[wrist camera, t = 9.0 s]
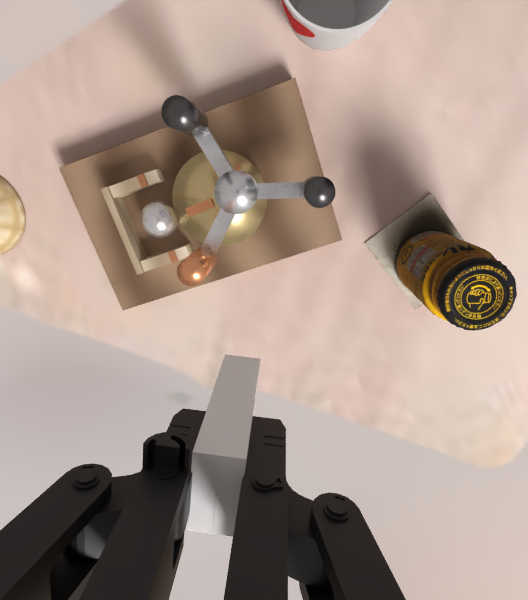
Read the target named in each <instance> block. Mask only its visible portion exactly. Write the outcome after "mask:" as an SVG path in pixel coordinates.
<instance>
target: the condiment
mask: <svg viewBox="0 0 528 600" xmlns="http://www.w3.org/2000/svg"><path fill="white" fill-rule="evenodd" d="M436 228H437V229H436ZM396 243H397V246H396V247H395V244H396ZM365 244H366V246H367V247H368V248H369V249H370V251H371V252H372V253H373V255H374V256H375V257H376V259H377V260H378V261H379V262H380V264H381V265H382V267H383V268H384V269H385V270H386V272H387V273H388V274H389V276H390V277H391V278H392V280H393V281H394V282H395V284H396V285H397V286H398V288H399V289H400V290H401V292H402V293H403V294H404V295H405V297H406V298H407V299H408V301H409V302H410V303H411V305H412V306H413V307H414V308H415V310H416V309H417V308H419V307H420V306H421V305H423V304H424V305H425V306H426V307H427V308H428V309H429V310H430V311H431V312H432V313H433V314H434V315H436V316H438V317H439V318H442V319H444V320H446V321H449V322H450V323H451V324H453V325H456V327H460V328H463V329H465V330H481V329H485V328H488V327H491V326H493V325H494V324H496V323H498V322H499V321H501V320H502V319H504V318H505V317H506V315H507V314H508V313H509V312H510V310H511V308H512V306H513V304H514V301H515V298H516V296H517V293H516V283H515V279H514V277H513V275H512V274H511V272H510V271H509V270H508V269H507V267H506V266H505V265H503V264H502V263H501V262H500V261H497V260H496V259H495V258H494V256H493V255H492V254H491V253H490V252H488V251H487V250H485V249H482V248H480V247H478V246H475V245H473V244H470V243H468V242H465V241H464V240H463V238H462V237H461V235H460V234H459V233H458V231H457V230H456V228H455V227H454V225H453V224H452V222H451V221H450V219H449V218H448V217H447V215H446V214H445V212H444V211H443V209H442V208H441V207H440V205H439V204H438V202H437V201H436V199H435V198H434V196H433V195H432V194H429V195H428V196H427V197H425V198H424V199H422V200H421V201H420V202H418V203H417V204H416V205H414V206H413V207H412V208H410V209H409V210H408V211H406V212H405V213H404V214H402V215H401V216H400V217H398V218H397V219H396V220H394V221H393V222H392V223H390V224H389V225H388V226H387V227H385V228H384V229H383V230H381V231H380V232H379V233H377V234H376V235H375V236H374V237H372V238H371V239H370V240H368V241H367V242H366V243H365ZM395 248H397V250H396V251H395Z"/></svg>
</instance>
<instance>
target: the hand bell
mask: <svg viewBox="0 0 528 600" xmlns="http://www.w3.org/2000/svg"><path fill="white" fill-rule="evenodd" d="M25 221H26V219H25V210H24V207H23V203H22V201H21V199H20V197H19V195H18V194H17V192H16V191H15V189H14V188H13V187H12V186H11V185H10V184H9V183H8V182H7V181H6V180H5V179H3V178H2V177H1V176H0V254H2V253H5V252H7V251H9V250H11V249H12V248H13V247H15V246H16V245H17V243H18V242H19V241H20V239H21V237H22V235H23V233H24V229H25Z"/></svg>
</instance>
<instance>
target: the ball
mask: <svg viewBox="0 0 528 600" xmlns="http://www.w3.org/2000/svg"><path fill="white" fill-rule="evenodd" d="M140 221H141V225H142V227H143V229H144V230H145V231H146V232H147V233H148V234H149V235H151V236H153V237H158V238H163V237H167V236H169V235H170V234H172V233H173V232H174V231H175V229H176V227H177V224H178V219H177V217H176V214H175V211H174V207H173V206H172V205H170V204H169V203H167V202H165V201H161V200H155V201H152V202H149V203H148V204H146V205H145V206H144V208H143V209H142V211H141V215H140Z"/></svg>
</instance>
